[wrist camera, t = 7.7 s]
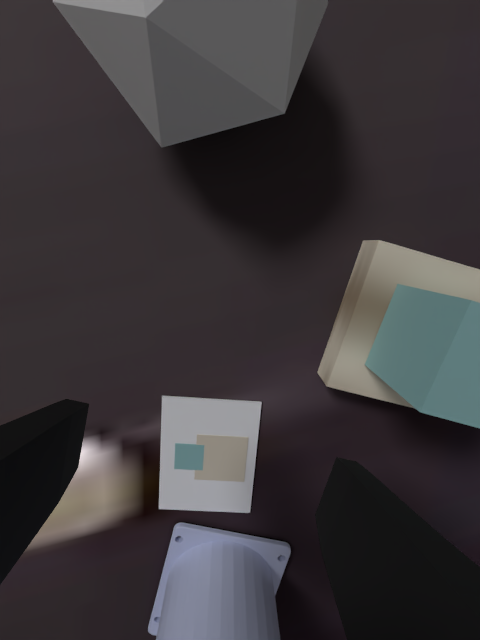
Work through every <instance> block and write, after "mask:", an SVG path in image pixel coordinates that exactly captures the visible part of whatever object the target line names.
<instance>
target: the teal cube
mask: <svg viewBox="0 0 480 640" xmlns="http://www.w3.org/2000/svg"><path fill="white" fill-rule="evenodd" d="M365 365H366V366H367V367H368V368H369V369H370V370H371V371H373V372H374V373H375V374H376V375H377V376H378V377H380V378H381V379H382V380H383V381H384V382H385V383H387V384H388V385H389V386H390V387H391V388H392V389H393V390H395V391H396V392H397V393H398V394H399V395H400V396H402V397H403V398H404V399H405V400H406V401H407V402H409V403H410V404H411V405H412V406H413V407H414V408H416V409H417V410H418V411H419V412H421V413H425V414H428V415H432V416H436V417H439V418H443V419H447V420H450V421H454V422H458V423H462V424H465V425H469V426H473V427H476V428H480V303H479V302H475V301H472V300H468V299H464V298H459V297H455V296H450V295H446V294H441V293H437V292H432V291H428V290H423V289H419V288H414V287H410V286H405V285H401V284H397V286H396V289H395V291H394V294H393V296H392V299H391V301H390V304H389V306H388V309H387V311H386V313H385V316H384V318H383V321H382V323H381V326H380V328H379V331H378V333H377V336H376V338H375V340H374V343H373V345H372V348H371V350H370V353H369V355H368V358H367V360H366V363H365Z"/></svg>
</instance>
